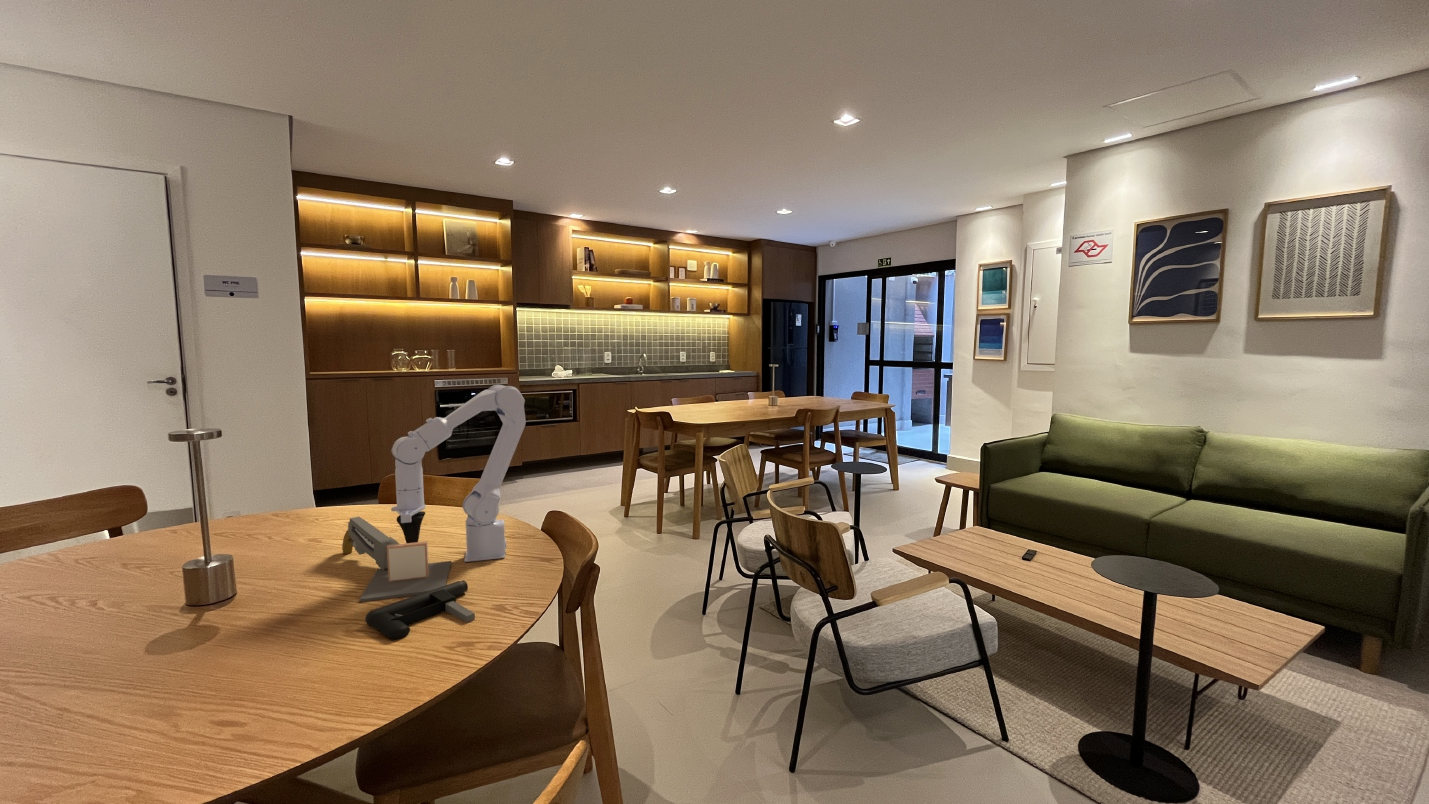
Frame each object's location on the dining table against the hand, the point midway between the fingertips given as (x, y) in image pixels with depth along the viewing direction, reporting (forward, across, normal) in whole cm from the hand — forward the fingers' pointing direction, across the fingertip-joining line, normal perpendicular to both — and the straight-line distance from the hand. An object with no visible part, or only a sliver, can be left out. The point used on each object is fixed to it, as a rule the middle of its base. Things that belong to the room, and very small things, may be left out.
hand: (412, 544), depth 139 cm
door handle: (+7, +28, +7) cm, 30 cm away
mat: (+6, +7, 0) cm, 9 cm away
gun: (+6, -9, -11) cm, 16 cm away
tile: (+6, +7, 0) cm, 9 cm away
